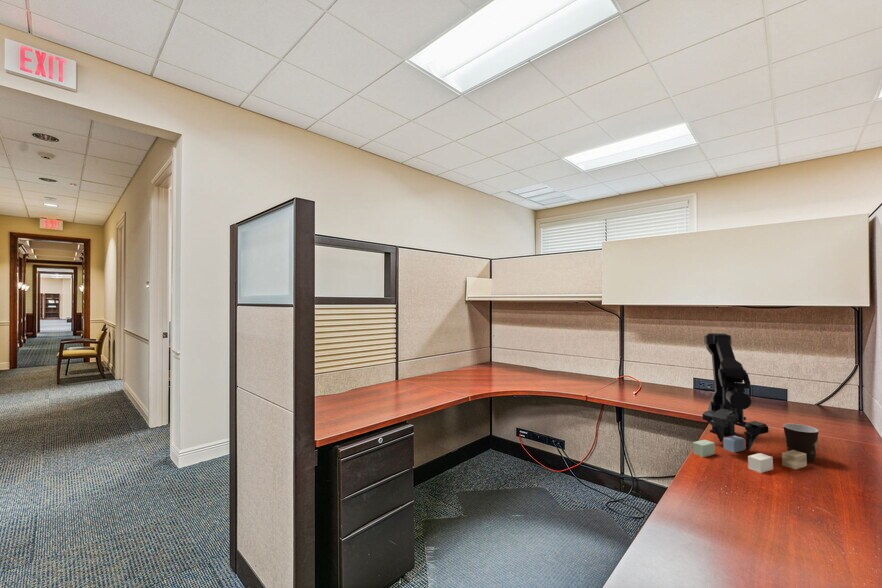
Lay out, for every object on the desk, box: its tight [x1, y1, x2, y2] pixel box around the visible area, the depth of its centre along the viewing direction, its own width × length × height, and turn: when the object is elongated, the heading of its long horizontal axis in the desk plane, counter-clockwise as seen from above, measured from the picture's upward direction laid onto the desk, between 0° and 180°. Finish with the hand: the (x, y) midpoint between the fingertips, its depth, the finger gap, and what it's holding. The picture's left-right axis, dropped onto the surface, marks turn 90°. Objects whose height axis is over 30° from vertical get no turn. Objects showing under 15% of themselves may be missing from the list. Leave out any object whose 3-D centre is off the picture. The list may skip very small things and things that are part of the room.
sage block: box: [692, 439, 716, 458], centre depth 134 cm, size 4×6×4 cm, turn 112°
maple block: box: [781, 450, 808, 470], centre depth 124 cm, size 4×6×4 cm, turn 112°
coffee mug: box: [782, 423, 820, 463], centre depth 130 cm, size 12×9×10 cm
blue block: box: [722, 435, 746, 453], centre depth 138 cm, size 4×6×4 cm, turn 112°
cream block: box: [747, 452, 774, 474], centre depth 122 cm, size 4×6×4 cm, turn 111°
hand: (734, 446), depth 138 cm, fingers open, 8 cm apart
